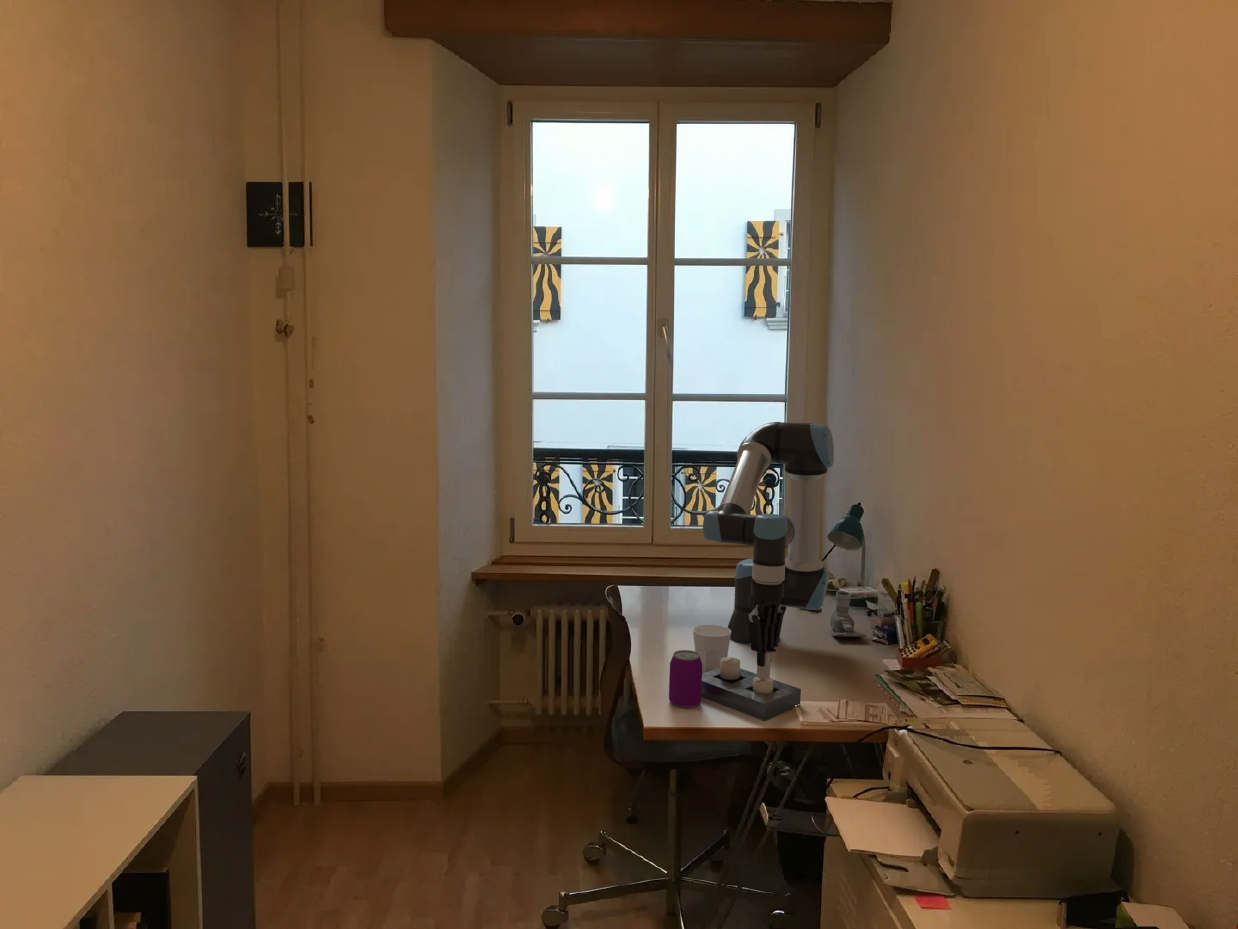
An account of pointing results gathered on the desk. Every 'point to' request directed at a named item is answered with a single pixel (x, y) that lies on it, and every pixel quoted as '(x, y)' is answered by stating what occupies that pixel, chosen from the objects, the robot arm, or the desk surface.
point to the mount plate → (749, 694)
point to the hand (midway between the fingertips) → (763, 678)
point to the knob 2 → (762, 686)
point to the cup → (711, 644)
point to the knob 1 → (729, 668)
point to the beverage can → (685, 679)
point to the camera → (843, 617)
